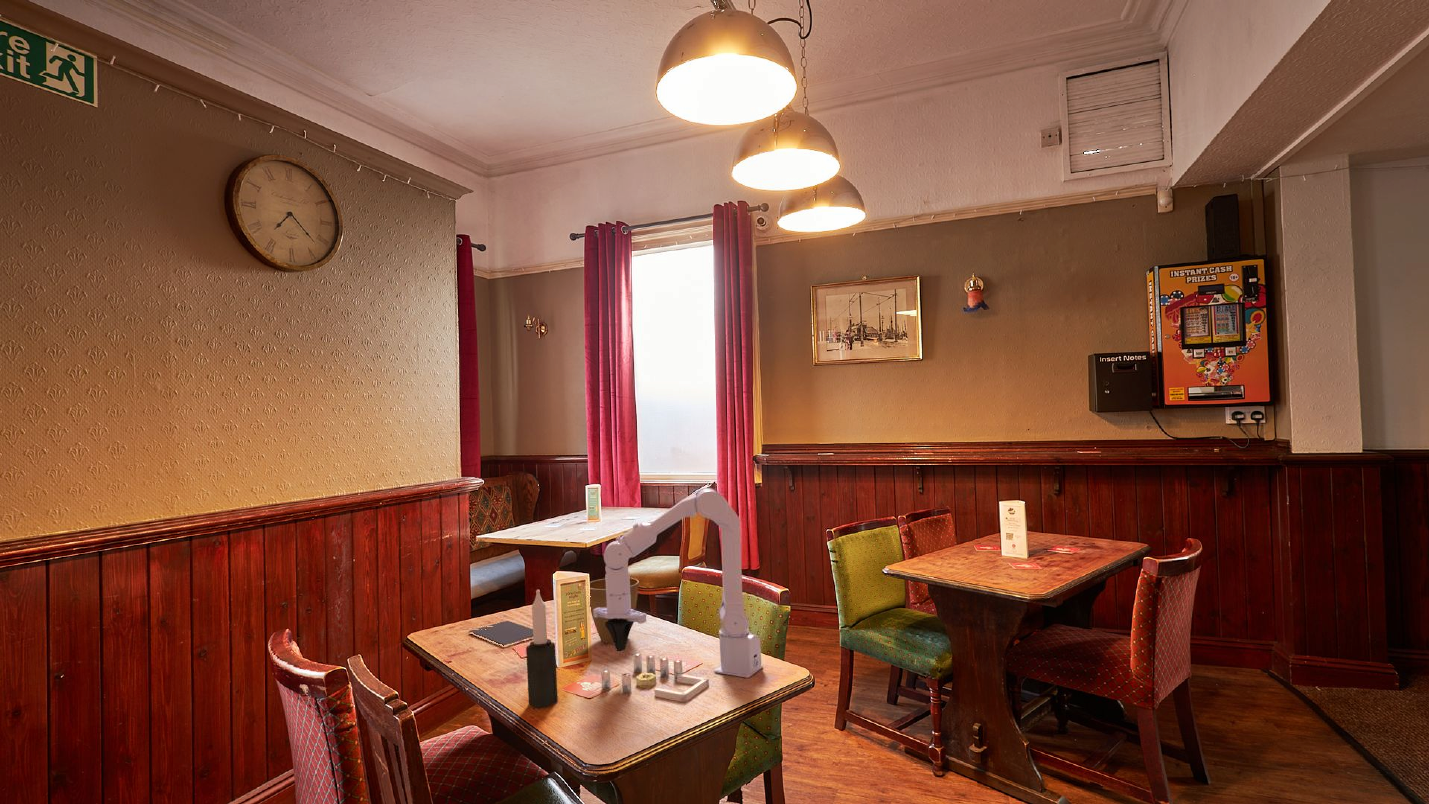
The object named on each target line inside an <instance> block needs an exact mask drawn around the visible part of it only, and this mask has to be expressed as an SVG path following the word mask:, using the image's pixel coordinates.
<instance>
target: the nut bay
mask: <svg viewBox="0 0 1429 804" xmlns="http://www.w3.org/2000/svg"><path fill="white" fill-rule="evenodd" d="M676 682H677V683H681V684H688V685H692V686H691V687H689V688H688V689H687V690H685V691H683V692H680V691H676V690H671V689H665V688H661V687H656V688H654V697H657V698H661V699H662V698H663V699H667V700H672V701H677V702H682V703H686V702H687V701H689V700H690V699H692V698H693V697H695V696H696V695H697V694H699V693H700V692H702V691H704V690H705V689H706V688H707V687H709V686H710V684H709V683H710V682H709V678H706V677H701V676H699V677H698V676H694V675H687V674H678V675H677V680H676ZM701 690H702V691H701Z"/></svg>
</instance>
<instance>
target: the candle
mask: <svg viewBox="0 0 1429 804" xmlns="http://www.w3.org/2000/svg"><path fill="white" fill-rule="evenodd" d="M535 593H536V595H535V598H534V601H533V603H532V605H531V614H532V615H531V618H532V629H533V639H532V640H533V641H530V642H529V645H527V646H526V647H525V650H526V651H525V653H526V655H525V656H526V670H527V671H526V673H527V690H528V692H527V693H528V706H529V705H530V706H529V707H531V708H535V709H540V708H541V709H542V708H543V709H546V708H548V707H549V705H550V706H551V705H554V704H556V703H557V702H558V701H559V699H558V681H557V678H558V677H557V661H556V660H557V659H556V643H555V642H552V640H551V639H549V638H548V631H547V629H548V628H547V611H546V610H547V609H546V603H545V602H544V601H543V599H542V595H541V594H540V593H541V591H540V589H536V591H535ZM541 709H540V710H541Z"/></svg>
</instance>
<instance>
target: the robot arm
mask: <svg viewBox="0 0 1429 804" xmlns="http://www.w3.org/2000/svg"><path fill="white" fill-rule="evenodd" d="M697 513H698V514H699V515H701V516H702V517H703V518H706V519H708V520H711V521H712V522H714V523H715V524H716V525H717V526H718V527H720V530H721V533H720V535H721V567H722V568H721V569H722V570H721V571H722V575H721V576H722V595H721V604H720V606H719V607H718V608H719V609H718V618H719V620H720V621H721V627H720V629H719V630H718V635H719V653H720V666H718V667H717V668H715V669H714V670H713V672H714V673H717V674H723V675H727V676H734V677H740V678H741V677H742V678H745V679H748V678H750V677H751V676H753V675H754V674H755V673H757V672H758V671H760V670H761V669H762V668H763V667H764V665H763V664H762V651H761V640H760V637H759V636H758V635H757V634H753V633H752V632H750V630H749V618H748V616H747V614H746V611H745V603H744V602H745V601H744V597H743V580H742V579H743V575H742V574H743V573H742V571H743V570H742V541H741V539H742V535H741V519H740V517H739V515H737V513H736V512H735V510H734V509H733V507H732V506H731V505H730V503H729V502H728V501H727V499H726V498H725V497H724V496H723V495H722V494H720V492H718V491H716V490H715V489H714V488H712V487H703V488H700V489H699V490H697V492H696V493H695V492H694V493H691V494H690V495H688V496H686V497H685V498H683V499H682V500H680V501H679V502H678V503H676V504H675V505H674V506H672V507H670V508H669V509H667V511H665V512H664V513H663V514H661V515H660V516H657V518H656V519H654V520H653V521H652V522H650V523H648V522H641V523H637V522H636V523H635V524H633V525H632V529H630V530H629V531H628V532H626V533H625V534H623V535H622V536H621V535H618V536H617V537H616V541H615V540H613V541H612V542H609V543H608V545H607V546H606V547H605V550H604V553H603V561H604V564H605V570H604V571H605V577H604V579H606V599H607V608H600V607H598V608H596V609H593V614H594V617H596V618H597V617H603V618H608V619H609V620H608V622H606V623H605V626H606V627H607V629H608V630H609V632H610V634H611V636H612V639H613V641H614V644H613V645H614V648H615V651H616V652H623V651H625V650H627V649H626V648H627V643H628V638H629V636H628V635H630V633H629V632H631V629H632V627H633V625H634V623H637V624H640V625H641V624H644V623H646V622H647V613H645V612H641V611H639V610H636V609H635V610H632V609H631V596H630V578H631V577H630V572H629V559H630V558H635V557H636V556H637V555H640V553H642V552H644V551H645V550H647V549H648V548H649V547H651V546H652V545H654V544H655V543H656V542H657V536H658V535H659V534H660V533H662V532H664V531H665V530H667V529H668V528H670V527H672V526H673V525H675V524H676V523H677V522H680V521H681V520H682V519H685V518H697V517H698V515H697Z"/></svg>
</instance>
